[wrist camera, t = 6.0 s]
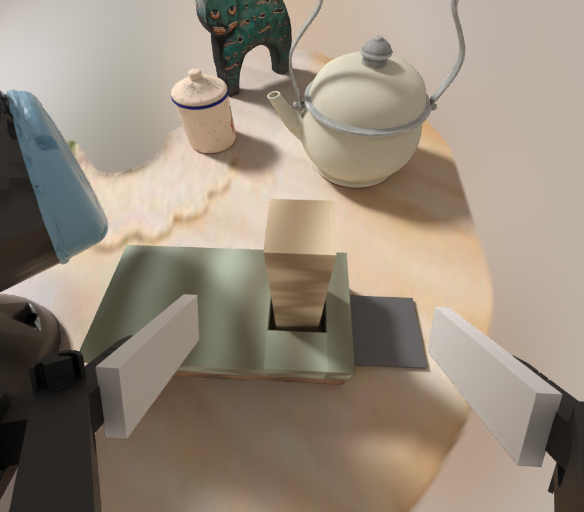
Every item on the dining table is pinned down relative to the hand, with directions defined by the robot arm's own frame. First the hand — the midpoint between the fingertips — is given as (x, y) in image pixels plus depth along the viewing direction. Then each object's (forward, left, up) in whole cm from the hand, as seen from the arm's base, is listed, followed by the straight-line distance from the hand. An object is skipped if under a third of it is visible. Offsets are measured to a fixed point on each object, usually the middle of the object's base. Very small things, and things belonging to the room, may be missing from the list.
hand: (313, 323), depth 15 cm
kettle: (+6, +35, -17) cm, 39 cm away
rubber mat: (+9, +5, -17) cm, 20 cm away
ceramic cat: (-13, +62, -17) cm, 66 cm away
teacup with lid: (-19, +41, -17) cm, 48 cm away
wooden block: (-1, +5, -14) cm, 15 cm away
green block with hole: (-8, +5, -17) cm, 19 cm away
